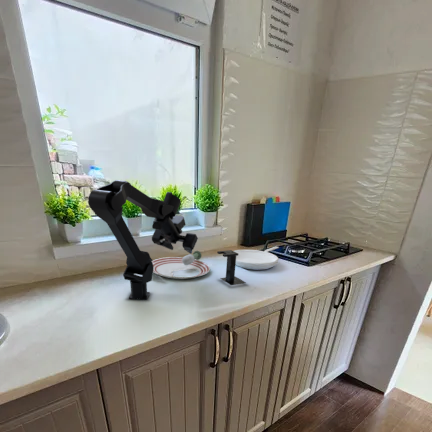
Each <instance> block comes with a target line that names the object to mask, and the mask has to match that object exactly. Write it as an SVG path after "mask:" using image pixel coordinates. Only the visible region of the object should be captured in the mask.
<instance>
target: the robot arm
mask: <svg viewBox="0 0 432 432" xmlns="http://www.w3.org/2000/svg"><path fill="white" fill-rule="evenodd" d="M127 201H128V202H129V203H131V204H132V205H135V206H136V207H138V208H139V209H141V213H142V214H144V215H145V216H146V217H147V218H154V220H153V223H152V227H151V229H153V230H154V232H153V234H152V236H151V241H152V243H153V244H155V245H157V246H160V247H162V248H165V249H168V250H171V251H173V250H174V246H173V244H174V245H176V244H177V242H180V243H182V244H181V246H182V248H183V250H184V251H186V252H187V253H189V254H191V255H192V254H193V250H194V248H195V246H196V245H197V242H198V239H199V238H198V236H197V234H196V233H191V232H186V234H185V235H182V233H183V230H182V229H183V228H184V227H185V226H186V220H185V217H184V216H183V215H177V213H178V211H179V207H180V205H181V203H182V200H181V199H180V198H179V197H178V196H176V195H175V194H173V192H171V191H167V192H166V193H165V196H164V199H163V200H161V199H157V198H153V197H151V196H148V195H147V194H145V193H144V192H143V191H141V190H140V189H138V188H137V187H135V186H134V185H132V183H130V181H127V180H122V179H121V180H119V179H115V180H113V181H111V182H110V183H108V184H106V185H103V186H100V187H98V188H96V189H92V190H91V191H90V192H89V195H88V201H87V203H88V206H89V209H91V211H92V212H93V213H94V214H95V216H96V217H98V218H99V219H100V220H102V221H103V222H104V223H106V224H107V226H108V228H109V229H110V231H111V233H112V235H113V237H114V238H115V239H116V241H117V242H118V245H119V246H120V248H121V250H122V251H123V253H124V255H125V256H126V261H125V264H126V267H125V269H124V271H123V274H122V276H123V278H124V280H125V281H126V280H127V281H129V283H130V284H129V285H130V295H129V296H128V300H142V301H143V300H144V301H146V300H148V299H149V296H150V294H151V293H150V291H148V283H150V282H152V280H153V275H154V273H153V263H152V261H153V260H154V259H153V258H151V255H150V253H149V252H148V251H145V250H141V249H140V247H139V246H138V244H137V242H136V240H135V238H134V237H133V234H132V233H131V230H130V229H129V227H128V225H127V223H126V222H125V219H124V218H123V211H124V205H125V204H126V203H127Z"/></svg>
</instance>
